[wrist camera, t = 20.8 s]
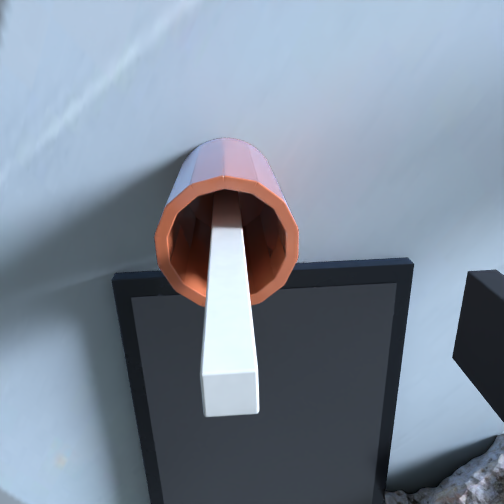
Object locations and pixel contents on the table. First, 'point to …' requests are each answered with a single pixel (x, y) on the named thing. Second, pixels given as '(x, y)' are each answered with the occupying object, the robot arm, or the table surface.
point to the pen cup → (252, 215)
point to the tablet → (272, 388)
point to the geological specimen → (464, 483)
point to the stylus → (228, 318)
